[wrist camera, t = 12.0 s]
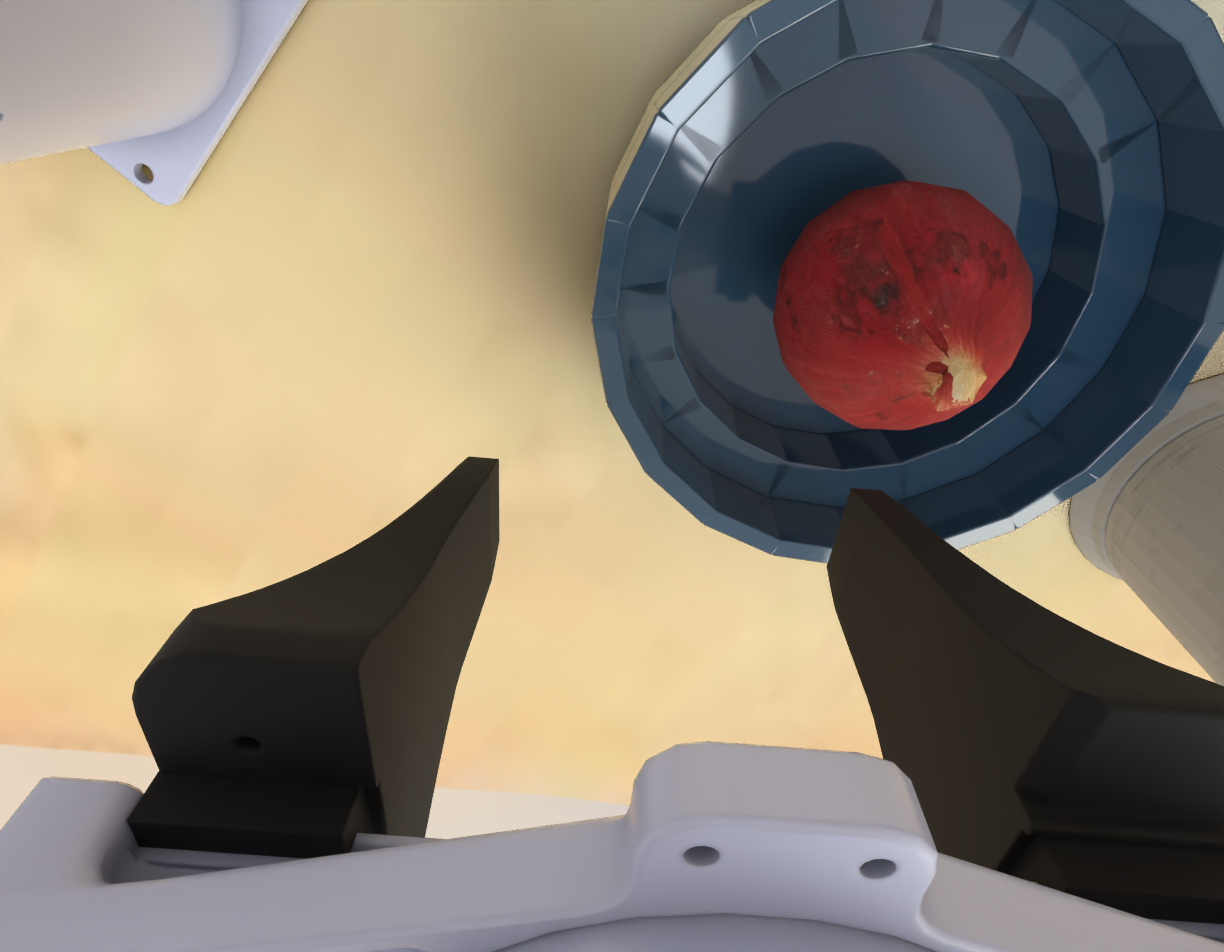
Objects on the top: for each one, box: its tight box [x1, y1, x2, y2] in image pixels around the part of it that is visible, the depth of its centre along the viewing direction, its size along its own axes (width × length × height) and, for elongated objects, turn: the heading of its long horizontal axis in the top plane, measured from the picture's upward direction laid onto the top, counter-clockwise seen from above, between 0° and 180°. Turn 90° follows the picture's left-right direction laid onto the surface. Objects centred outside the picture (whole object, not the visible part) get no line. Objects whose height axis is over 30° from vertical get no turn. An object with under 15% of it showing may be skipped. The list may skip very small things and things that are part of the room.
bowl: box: [591, 0, 1224, 563], centre depth 19 cm, size 15×15×5 cm
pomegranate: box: [773, 180, 1033, 430], centre depth 17 cm, size 6×6×8 cm
